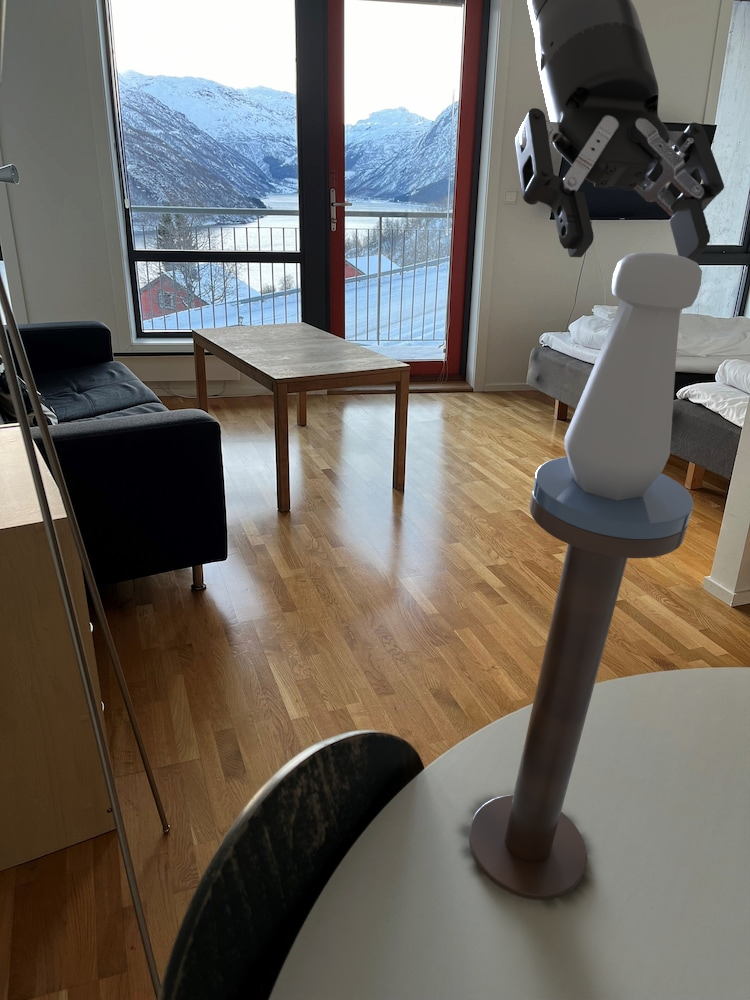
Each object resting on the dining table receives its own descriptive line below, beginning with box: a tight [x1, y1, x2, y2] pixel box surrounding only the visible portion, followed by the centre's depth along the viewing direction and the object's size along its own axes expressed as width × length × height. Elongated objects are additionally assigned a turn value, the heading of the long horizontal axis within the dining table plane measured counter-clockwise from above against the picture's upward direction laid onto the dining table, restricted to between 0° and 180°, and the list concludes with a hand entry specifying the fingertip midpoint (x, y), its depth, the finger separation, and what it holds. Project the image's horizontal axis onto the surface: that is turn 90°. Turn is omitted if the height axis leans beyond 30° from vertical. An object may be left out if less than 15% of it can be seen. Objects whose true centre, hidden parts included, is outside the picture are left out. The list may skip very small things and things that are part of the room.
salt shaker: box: [564, 251, 703, 500], centre depth 40 cm, size 6×6×13 cm
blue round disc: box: [532, 456, 694, 539], centre depth 43 cm, size 9×9×1 cm
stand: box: [468, 490, 690, 901], centre depth 51 cm, size 9×9×31 cm
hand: (639, 252), depth 50 cm, fingers open, 8 cm apart
